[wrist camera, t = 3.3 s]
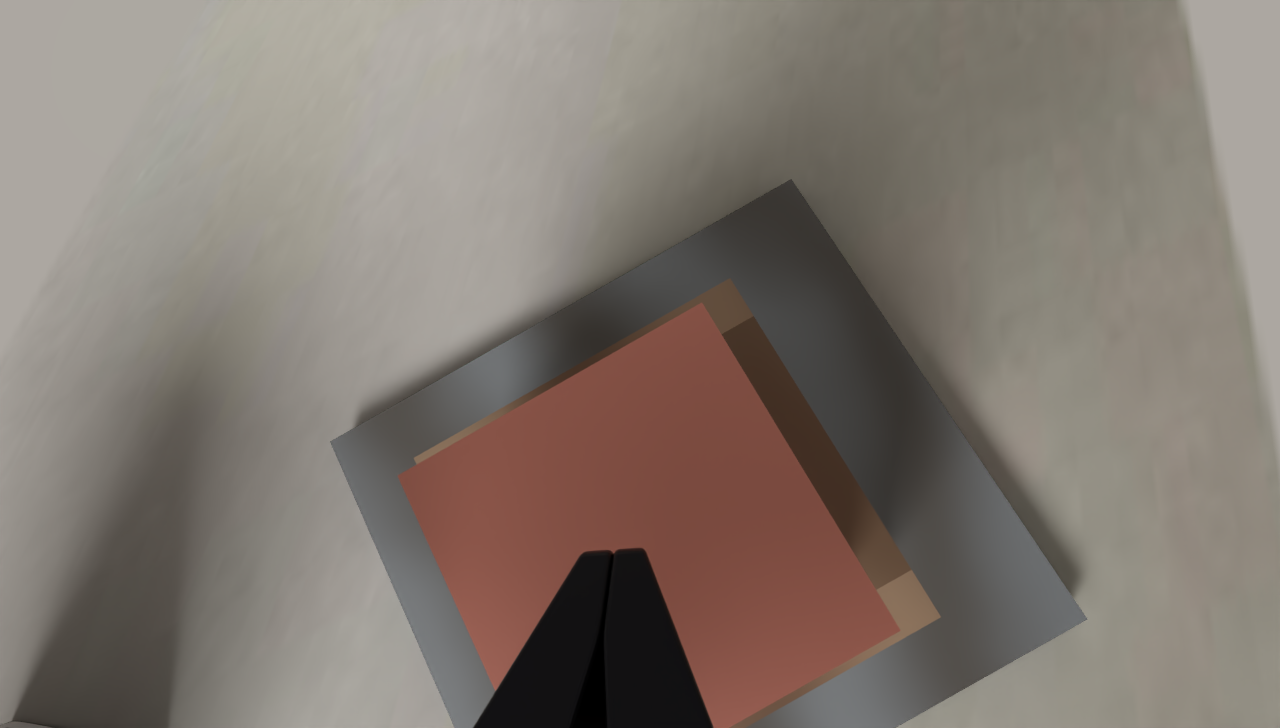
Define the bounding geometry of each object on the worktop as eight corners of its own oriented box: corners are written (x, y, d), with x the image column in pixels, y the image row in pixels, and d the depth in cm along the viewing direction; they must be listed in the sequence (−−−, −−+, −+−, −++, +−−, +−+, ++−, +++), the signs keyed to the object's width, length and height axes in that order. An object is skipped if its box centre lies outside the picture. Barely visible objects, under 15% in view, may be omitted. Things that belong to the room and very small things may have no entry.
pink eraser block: (616, 704, 16) (556, 825, 10) (507, 483, 17) (397, 475, 11) (833, 581, 16) (901, 630, 10) (708, 369, 17) (702, 302, 11)
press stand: (551, 903, 21) (466, 1109, 14) (348, 444, 24) (198, 422, 17) (1066, 612, 21) (1244, 670, 14) (787, 194, 24) (815, 71, 17)
